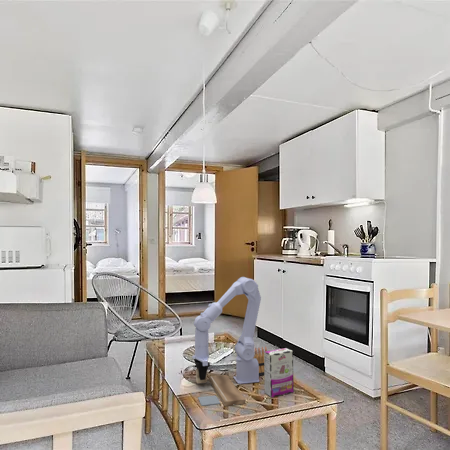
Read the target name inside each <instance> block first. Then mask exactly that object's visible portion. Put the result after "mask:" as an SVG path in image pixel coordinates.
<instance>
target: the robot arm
mask: <svg viewBox="0 0 450 450" xmlns="http://www.w3.org/2000/svg"><path fill="white" fill-rule="evenodd" d="M240 295H245V296H246V298H247V305H246V310H245V315H244V321H243V325H242V328H241V329H242V330H241V335H240V336H239V337H238V339H237V342H236V344H235V346H234V351H235V353H236V359H235V361H236V362H235V373H236V374H235V376H234V375H233V377H232V378H233V379H234V380H235V382H236V383H237V384H238V385H242V384H252V383H254V384H255V383H259V382H260V376H259V364H258V361H257V359H256V358H254V355H255V341H254V335H255V330H256V326H257V325H256V324H257V320H258V316H259V311H260V305H261V300H262V296H261V293H260V291H259V284H258V283H257V282H256V280H254V279H253V278H249V277H245V276H241V277H239V278H237V280H236V281H234V282H233V283H232V284H231V286H230V287H229V288H228V289H227V291H225V293H224V294H223V295H222V296H221V297H220V298H219V299H218V301H217V302H215V301H214V302H212V303H208V304H207V306H208V307H207V308H206V309H205V310H204V311H203V312H200V315H198V316H196V317H195V319H194V321H193V325H194V327H195V331H194V332H195V334H194V355H192V356H191V359H193V362H194V363H195V367H196V368H195V369H198V371H199V378H200V380H205V378H206V373H207V374H208V370H209V367H210V365H211V362H209V358H210V355H209V348H210V347H209V337H210V335H209V329H210V328H211V324H212V323H213V322H214V321H216V319H217V318H218V317H219V316H220V315H221V314H222V313H223V308H224V307H225V306H227V304H228V303H229V302H230V301H231V300H233V298H234V297H236V296H240Z"/></svg>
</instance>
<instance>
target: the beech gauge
mask: <svg viewBox="0 0 450 450" xmlns="http://www.w3.org/2000/svg"><path fill="white" fill-rule="evenodd" d="M195 381H196V384H206V383H208V372H207V373H206V378H205V380H200V378H199V371H198V369H197V368H195Z"/></svg>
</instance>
